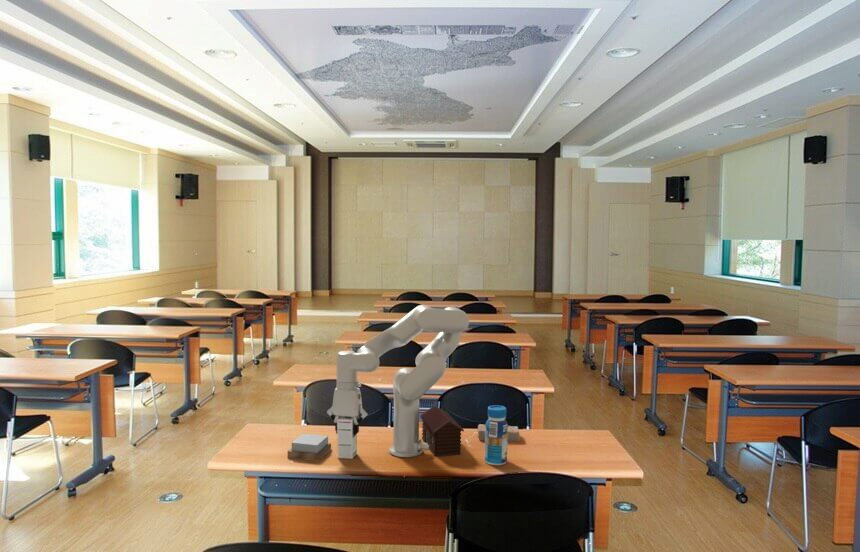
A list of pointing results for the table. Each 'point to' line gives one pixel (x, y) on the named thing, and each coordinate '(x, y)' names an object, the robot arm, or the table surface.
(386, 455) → the table surface
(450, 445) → the model building
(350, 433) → the syrup box
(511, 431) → the brick
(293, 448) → the tower top
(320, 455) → the tower base
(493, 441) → the beverage bottle
